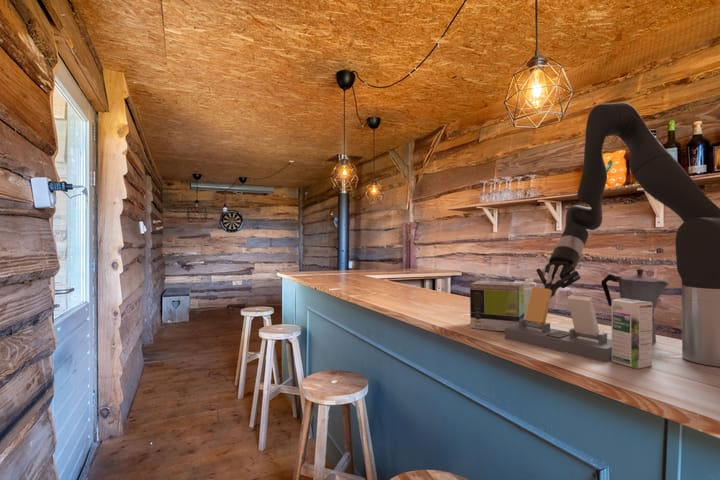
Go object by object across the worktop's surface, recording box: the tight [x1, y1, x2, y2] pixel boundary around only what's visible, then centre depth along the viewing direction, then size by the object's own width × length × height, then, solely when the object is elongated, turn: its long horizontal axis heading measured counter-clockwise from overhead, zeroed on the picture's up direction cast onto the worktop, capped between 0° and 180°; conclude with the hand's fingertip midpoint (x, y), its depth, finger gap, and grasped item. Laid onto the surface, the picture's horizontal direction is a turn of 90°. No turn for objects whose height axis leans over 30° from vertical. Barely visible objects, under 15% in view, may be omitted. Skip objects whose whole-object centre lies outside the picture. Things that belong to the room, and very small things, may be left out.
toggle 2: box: [567, 294, 600, 340], centre depth 93 cm, size 5×2×12 cm, turn 36°
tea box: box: [469, 280, 525, 332], centre depth 121 cm, size 15×10×15 cm, turn 58°
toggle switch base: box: [504, 319, 612, 363], centre depth 100 cm, size 26×10×5 cm, turn 36°
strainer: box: [519, 278, 537, 322], centre depth 127 cm, size 7×7×15 cm
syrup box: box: [611, 298, 653, 370], centre depth 85 cm, size 6×6×14 cm
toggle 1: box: [524, 287, 552, 329], centre depth 107 cm, size 5×2×12 cm, turn 36°
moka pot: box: [601, 268, 670, 345], centre depth 105 cm, size 10×15×20 cm, turn 53°
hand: (547, 296), depth 110 cm, fingers closed
